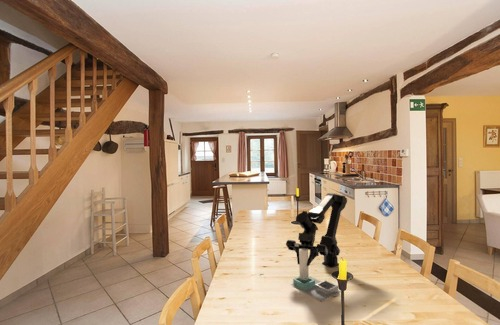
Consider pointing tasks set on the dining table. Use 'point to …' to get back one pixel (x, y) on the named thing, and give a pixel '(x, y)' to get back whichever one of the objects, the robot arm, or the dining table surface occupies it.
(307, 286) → the teal socket
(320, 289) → the grey socket
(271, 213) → the dining table surface
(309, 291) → the console board
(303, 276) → the plug
